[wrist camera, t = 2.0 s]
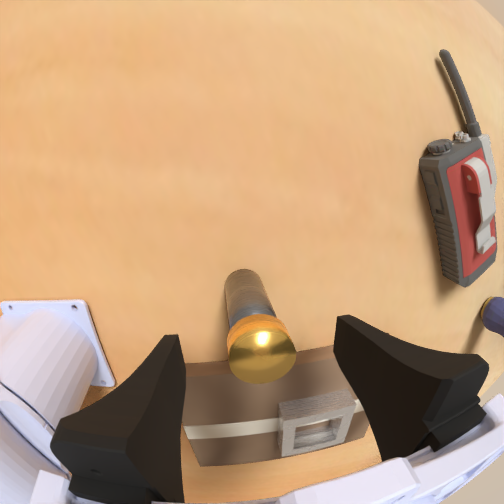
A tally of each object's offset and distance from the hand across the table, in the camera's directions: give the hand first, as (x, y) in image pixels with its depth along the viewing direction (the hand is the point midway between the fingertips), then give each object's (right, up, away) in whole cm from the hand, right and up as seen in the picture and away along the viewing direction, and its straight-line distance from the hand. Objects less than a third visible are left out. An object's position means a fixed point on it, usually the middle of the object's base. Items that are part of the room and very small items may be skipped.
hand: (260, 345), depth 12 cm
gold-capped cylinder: (-1, +2, +6) cm, 7 cm away
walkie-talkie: (+16, +11, +6) cm, 21 cm away
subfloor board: (+3, -10, +10) cm, 15 cm away
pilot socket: (+5, -10, +9) cm, 15 cm away
